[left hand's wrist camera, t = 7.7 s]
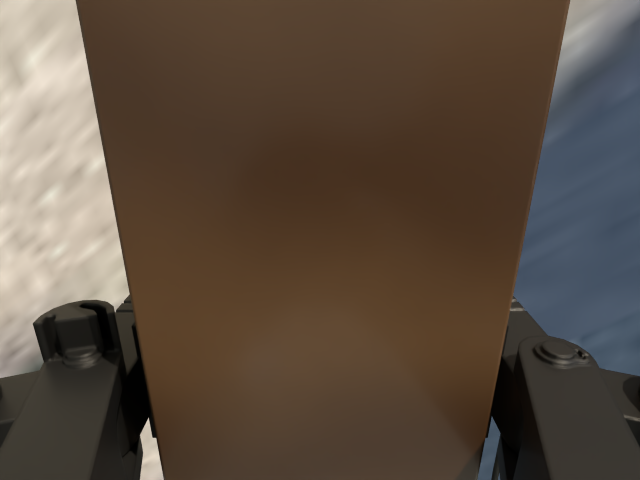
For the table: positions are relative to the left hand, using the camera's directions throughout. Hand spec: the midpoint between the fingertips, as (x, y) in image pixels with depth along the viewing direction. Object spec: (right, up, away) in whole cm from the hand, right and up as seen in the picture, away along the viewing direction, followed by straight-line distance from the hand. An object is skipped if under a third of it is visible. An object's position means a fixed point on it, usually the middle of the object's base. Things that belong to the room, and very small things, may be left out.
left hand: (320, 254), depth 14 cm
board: (0, -20, +8) cm, 21 cm away
